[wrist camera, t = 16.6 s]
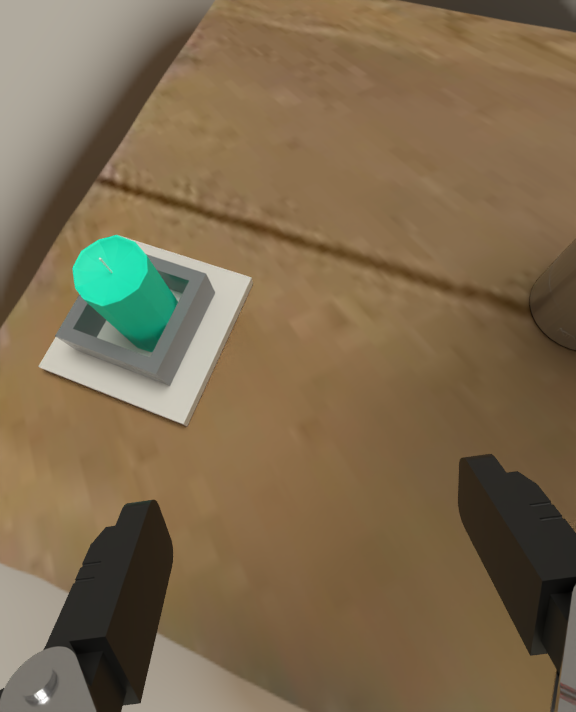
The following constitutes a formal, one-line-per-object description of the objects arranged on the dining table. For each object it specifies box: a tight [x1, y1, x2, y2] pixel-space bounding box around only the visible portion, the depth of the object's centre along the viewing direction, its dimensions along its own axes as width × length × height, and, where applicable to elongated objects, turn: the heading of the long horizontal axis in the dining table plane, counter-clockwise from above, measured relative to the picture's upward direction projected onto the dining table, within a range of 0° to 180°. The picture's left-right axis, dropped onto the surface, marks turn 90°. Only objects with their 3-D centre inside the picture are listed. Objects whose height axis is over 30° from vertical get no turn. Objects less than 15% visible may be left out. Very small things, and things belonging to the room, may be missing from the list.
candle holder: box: [39, 235, 253, 426], centre depth 43 cm, size 16×16×5 cm
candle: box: [73, 235, 178, 352], centre depth 38 cm, size 6×6×12 cm
